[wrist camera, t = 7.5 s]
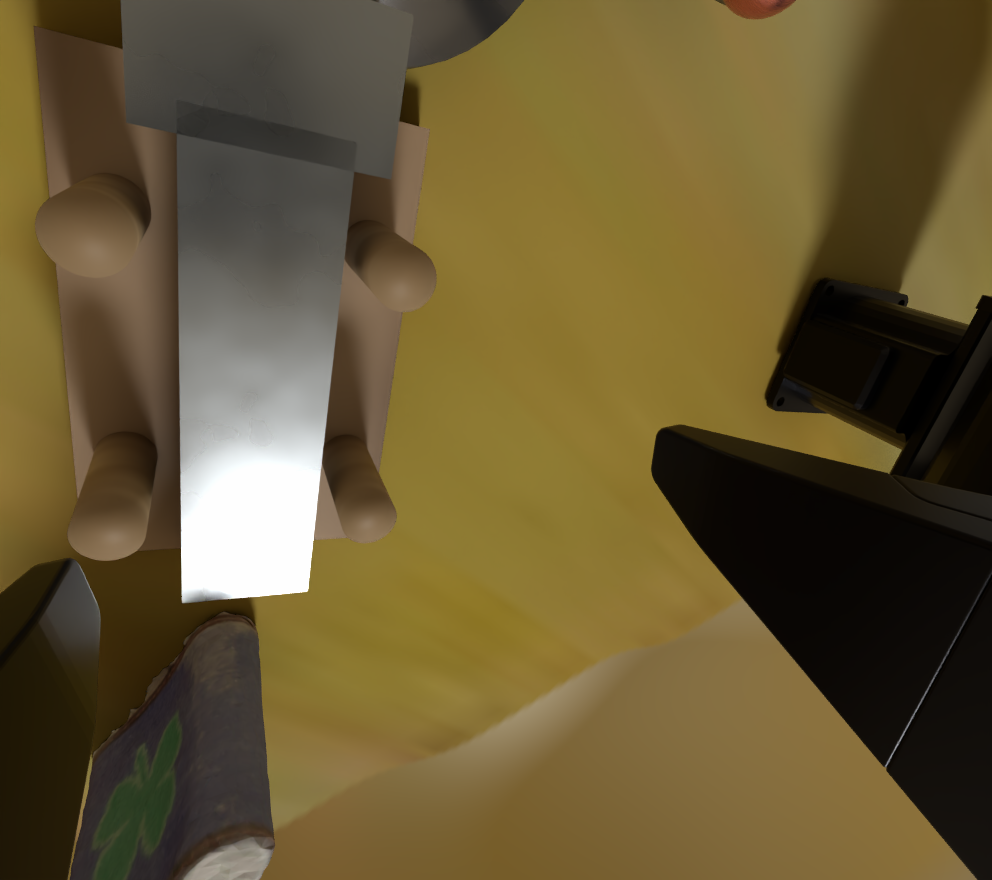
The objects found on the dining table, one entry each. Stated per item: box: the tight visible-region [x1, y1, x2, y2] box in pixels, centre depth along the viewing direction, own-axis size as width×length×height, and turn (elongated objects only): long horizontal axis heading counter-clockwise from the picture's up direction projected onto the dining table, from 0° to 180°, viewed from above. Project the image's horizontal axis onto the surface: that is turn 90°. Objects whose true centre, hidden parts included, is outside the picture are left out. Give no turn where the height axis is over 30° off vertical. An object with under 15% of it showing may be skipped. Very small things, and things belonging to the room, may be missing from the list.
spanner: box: [121, 0, 414, 603], centre depth 15 cm, size 5×16×3 cm, turn 166°
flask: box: [70, 611, 275, 880], centre depth 19 cm, size 9×3×11 cm, turn 134°
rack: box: [34, 26, 436, 561], centre depth 16 cm, size 9×14×5 cm, turn 166°
